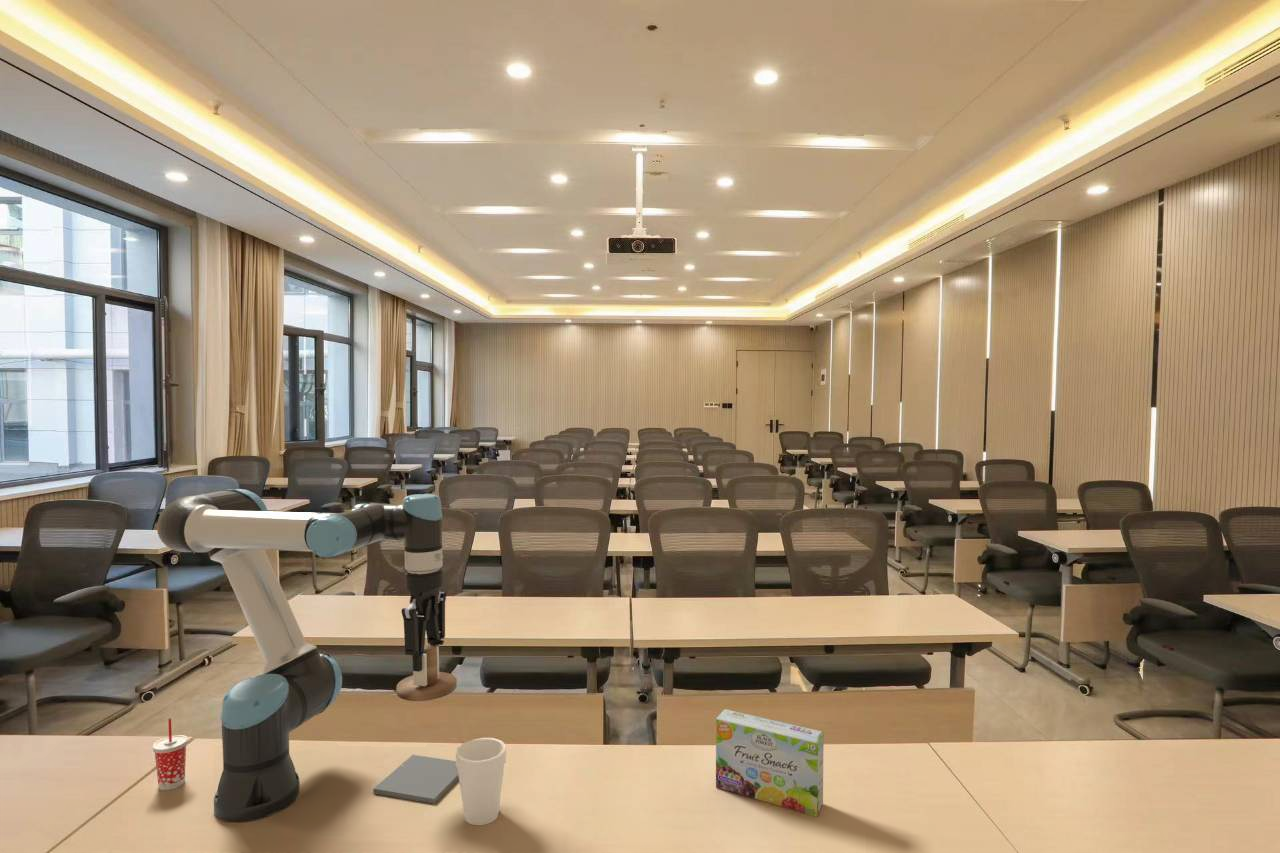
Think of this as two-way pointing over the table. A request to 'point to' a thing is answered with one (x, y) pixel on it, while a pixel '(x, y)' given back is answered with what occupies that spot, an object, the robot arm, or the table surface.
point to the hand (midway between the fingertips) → (426, 680)
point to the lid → (435, 684)
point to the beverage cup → (170, 760)
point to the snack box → (770, 761)
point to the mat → (420, 779)
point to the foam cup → (481, 778)
